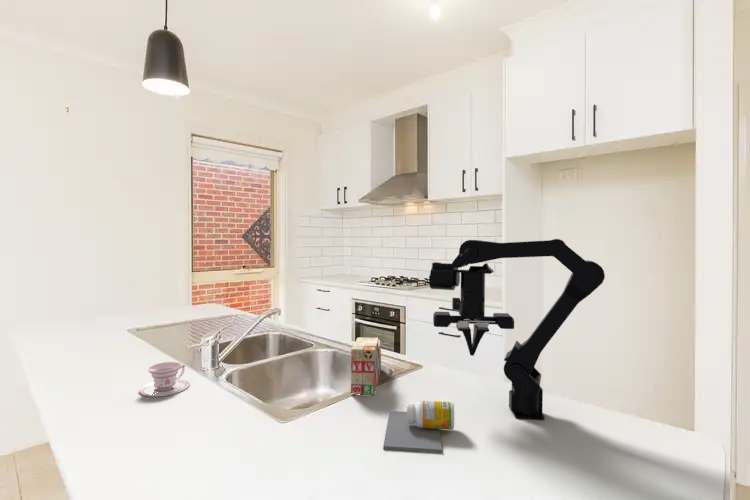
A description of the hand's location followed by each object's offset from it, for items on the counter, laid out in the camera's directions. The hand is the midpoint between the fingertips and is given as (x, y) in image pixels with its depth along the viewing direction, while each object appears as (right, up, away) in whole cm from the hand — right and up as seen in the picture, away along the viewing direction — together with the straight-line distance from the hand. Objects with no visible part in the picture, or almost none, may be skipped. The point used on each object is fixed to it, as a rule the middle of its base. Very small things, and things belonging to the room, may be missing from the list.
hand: (471, 355), depth 99 cm
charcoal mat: (-16, -12, -14) cm, 24 cm away
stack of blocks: (-26, -12, +16) cm, 33 cm away
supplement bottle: (-7, -9, -14) cm, 18 cm away
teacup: (-80, -12, +9) cm, 81 cm away
